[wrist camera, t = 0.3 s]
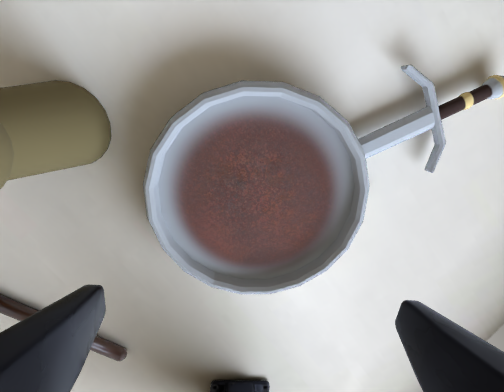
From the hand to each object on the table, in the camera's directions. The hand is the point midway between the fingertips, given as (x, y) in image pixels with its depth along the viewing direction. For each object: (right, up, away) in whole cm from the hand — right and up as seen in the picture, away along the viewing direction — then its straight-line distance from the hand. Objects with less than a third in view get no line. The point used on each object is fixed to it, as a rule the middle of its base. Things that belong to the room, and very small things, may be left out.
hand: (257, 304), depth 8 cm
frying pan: (+5, +6, +13) cm, 16 cm away
